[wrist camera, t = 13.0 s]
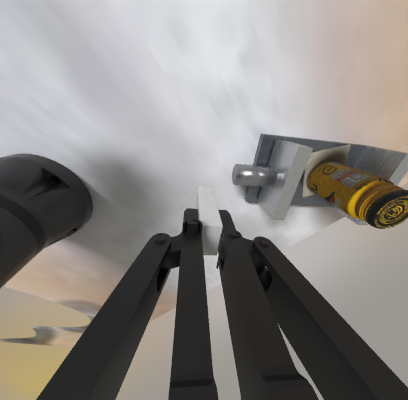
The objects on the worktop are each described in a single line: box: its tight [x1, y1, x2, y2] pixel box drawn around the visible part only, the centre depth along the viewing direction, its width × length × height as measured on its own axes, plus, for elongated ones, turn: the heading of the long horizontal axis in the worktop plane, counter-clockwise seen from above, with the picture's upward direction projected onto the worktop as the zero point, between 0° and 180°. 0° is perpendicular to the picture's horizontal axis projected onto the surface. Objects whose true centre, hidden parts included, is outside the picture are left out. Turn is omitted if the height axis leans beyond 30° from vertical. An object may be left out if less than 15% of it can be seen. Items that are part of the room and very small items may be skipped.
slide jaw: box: [232, 140, 313, 220], centre depth 25 cm, size 8×11×6 cm
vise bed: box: [244, 134, 408, 225], centre depth 27 cm, size 20×12×7 cm, turn 84°
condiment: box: [302, 144, 408, 229], centre depth 23 cm, size 7×8×12 cm
